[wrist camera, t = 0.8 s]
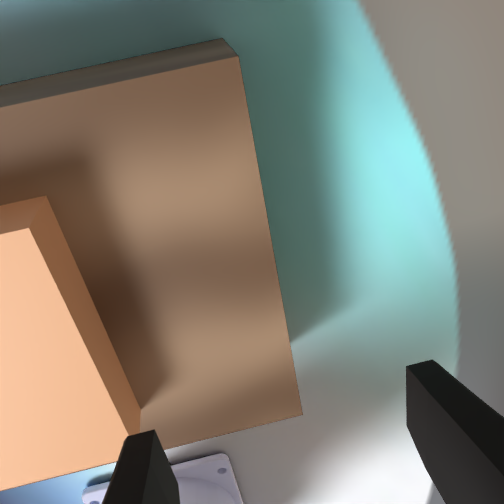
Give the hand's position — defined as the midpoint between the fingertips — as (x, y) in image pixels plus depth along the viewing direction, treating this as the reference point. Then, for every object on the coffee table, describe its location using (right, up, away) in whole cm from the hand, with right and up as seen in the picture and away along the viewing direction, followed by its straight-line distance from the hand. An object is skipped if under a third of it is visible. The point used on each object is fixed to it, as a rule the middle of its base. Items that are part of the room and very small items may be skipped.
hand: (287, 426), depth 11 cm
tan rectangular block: (-9, +1, +5) cm, 10 cm away
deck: (-8, +3, +8) cm, 12 cm away
